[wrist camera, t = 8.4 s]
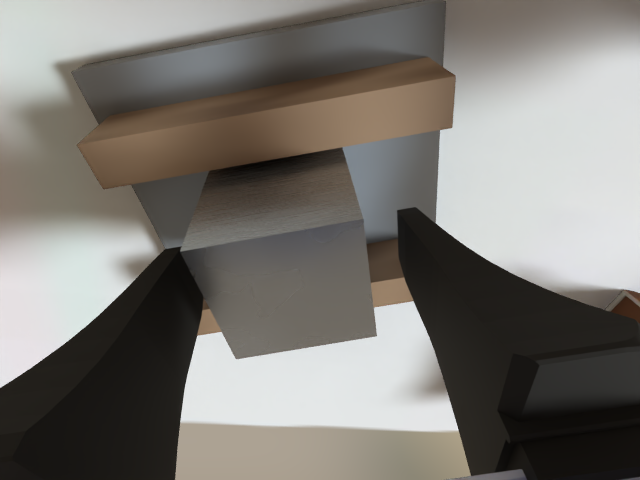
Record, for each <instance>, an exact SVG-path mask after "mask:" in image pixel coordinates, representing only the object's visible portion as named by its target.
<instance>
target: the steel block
mask: <svg viewBox="0 0 640 480" xmlns="http://www.w3.org/2000/svg"><path fill="white" fill-rule="evenodd" d="M180 253H181V255H182V257H183V259H184V261H185V263H186V264H187V266H188V268H189V270H190V272H191V274H192V276H193V278H194V280H195V282H196V284H197V285H198V287H199V289H200V291H201V293H202V295H203V297H204V299H205V301H206V303H207V305H208V306H209V308H210V310H211V312H212V314H213V316H214V318H215V320H216V322H217V324H218V326H219V327H220V329H221V331H222V333H223V335H224V337H225V339H226V341H227V343H228V345H229V347H230V348H231V350H232V352H233V354H234V356H235V358H236V359H241V358H247V357H253V356H259V355H265V354H271V353H277V352H283V351H289V350H295V349H302V348H308V347H314V346H320V345H326V344H332V343H338V342H344V341H350V340H356V339H362V338H369V337H375V336H377V333H376V324H375V316H374V307H373V298H372V289H371V281H370V272H369V263H368V254H367V246H366V237H365V228H364V219H363V216H362V212H361V209H360V206H359V202H358V199H357V195H356V192H355V189H354V185H353V182H352V178H351V175H350V172H349V168H348V165H347V161H346V158H345V155H344V151H343V148H342V147H341V148H335V149H329V150H324V151H318V152H312V153H307V154H301V155H295V156H290V157H284V158H278V159H273V160H267V161H261V162H256V163H250V164H244V165H239V166H233V167H227V168H222V169H216V170H210V171H209V173H208V176H207V178H206V181H205V184H204V187H203V189H202V192H201V195H200V198H199V200H198V203H197V206H196V209H195V211H194V214H193V217H192V220H191V222H190V225H189V228H188V231H187V233H186V236H185V239H184V242H183V244H182V247H181V250H180Z"/></svg>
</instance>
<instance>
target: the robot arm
mask: <svg viewBox="0 0 640 480" xmlns="http://www.w3.org/2000/svg"><path fill="white" fill-rule="evenodd" d="M397 226H398V257H399V261H400V264H401V268H402V272H403V275H404V278H405V282H406V284H407V287H408V289H409V291H410V294H411V296H412V298H413V301H414V303H415V305H416V307H417V310H418V312H419V314H420V317H421V319H422V321H423V323H424V326H425V328H426V330H427V333H428V335H429V337H430V340H431V342H432V345H433V348H434V350H435V353H436V356H437V360H438V363H439V366H440V369H441V372H442V375H443V379H444V382H445V385H446V389H447V392H448V395H449V398H450V402H451V405H452V408H453V412H454V415H455V419H456V422H457V426H458V429H459V433H460V436H461V440H462V443H463V447H464V451H465V455H466V458H467V462H468V466H469V469H470V473H471V476H468V477H461V478H454V479H447V480H640V324H639V323H638V322H637V321H636V320H635V319H633V318H629V317H626V316H623V315H619V314H616V313H613V312H610V311H606V310H603V309H600V308H596V307H593V306H590V305H587V304H584V303H581V302H578V301H576V300H573V299H570V298H567V297H565V296H562V295H559V294H557V293H554V292H552V291H549V290H547V289H544V288H542V287H540V286H538V285H535V284H533V283H531V282H529V281H526V280H524V279H522V278H520V277H518V276H516V275H514V274H512V273H510V272H508V271H506V270H504V269H502V268H501V267H499V266H497V265H495V264H493V263H491V262H490V261H488V260H486V259H485V258H483V257H481V256H480V255H478V254H477V253H475V252H474V251H472V250H471V249H469V248H467V247H466V246H465V245H463V244H462V243H460V242H459V241H458V240H456V239H455V238H454V237H452V236H451V235H450V234H448V233H447V232H446V231H444V230H443V229H442V228H441V227H439V226H438V225H437V224H436V223H435V222H433V221H432V220H431V219H430V218H429V217H427V216H426V215H425V214H424V213H423V212H421V211H420V210H419V209H418V208H416V207H413V208H407V209H401V210H397ZM181 247H182V246H180V247H174V248H169V249H165V250H164V251H163V252H162V253H161V254H160V255H159V256H158V257H157V258H156V259H155V260H154V261H153V262H152V263H151V264H150V265H149V266H148V267H147V268H146V269H145V270H144V271H143V272H142V273H141V274H140V275H139V276H138V277H137V278H136V279H135V280H134V281H133V282H132V283H131V284H130V286H129V287H128V288H127V289H126V290H125V291H124V292H123V293H122V294H121V295H120V296H119V297H117V298H116V299H115V300H114V301H113V302H112V303H111V304H110V305H109V306H108V307H107V308H106V309H105V310H104V311H103V312H102V313H101V314H100V315H99V316H98V317H96V318H95V319H94V320H93V321H92V322H91V323H90V324H88V325H87V326H86V327H85V328H84V329H82V330H81V331H80V332H79V333H78V334H76V335H75V336H74V337H73V338H71V339H70V340H69V341H68V342H66V343H65V344H64V345H62V346H61V347H60V348H58V349H57V350H56V351H54V352H53V353H51V354H50V355H49V356H47V357H46V358H45V359H43V360H42V361H40V362H39V363H38V364H36V365H35V366H33V367H32V368H31V369H29V370H28V371H26V372H25V373H23V374H22V375H20V376H18V377H17V378H15V379H14V380H12V381H11V382H9V383H8V384H6V385H4V386H3V387H1V388H0V480H175V472H176V459H177V446H178V436H179V428H180V418H181V411H182V403H183V396H184V389H185V383H186V378H187V374H188V370H189V366H190V362H191V358H192V354H193V350H194V346H195V342H196V338H197V334H198V330H199V325H200V321H201V317H202V310H203V300H204V297H203V295H202V293H201V291H200V289H199V287H198V285H197V284H196V282H195V280H194V278H193V276H192V274H191V272H190V270H189V268H188V266H187V264H186V263H185V261H184V259H183V257H182V255H181V253H180V250H181Z"/></svg>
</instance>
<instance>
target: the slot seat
mask: <svg viewBox="0 0 640 480" xmlns="http://www.w3.org/2000/svg"><path fill="white" fill-rule="evenodd" d="M445 10H446V1H443V0H425V1H419V2H414V3H409V4H403V5H398V6H393V7H388V8H382V9H377V10H372V11H367V12H361V13H356V14H351V15H345V16H340V17H335V18H330V19H324V20H319V21H314V22H309V23H303V24H298V25H293V26H287V27H282V28H277V29H272V30H266V31H261V32H256V33H251V34H245V35H240V36H235V37H229V38H224V39H219V40H214V41H208V42H203V43H198V44H193V45H187V46H182V47H177V48H171V49H166V50H161V51H156V52H150V53H145V54H140V55H135V56H129V57H124V58H119V59H114V60H108V61H103V62H98V63H92V64H87V65H84V66H82V67H80V68H78V69H76V70H74V71H72V72H71V73H72V75H73V77H74V79H75V81H76V83H77V84H78V86H79V88H80V90H81V92H82V94H83V96H84V97H85V99H86V101H87V103H88V105H89V107H90V109H91V111H92V112H93V114H94V116H95V118H96V120H97V122H98V124H99V125H98V126H97V127H96V128H95V129H94V130H93V131H92V132H91V133H89V134H88V135H87V136H86V137H85V138H84V139H83V140H82V141H80V142H79V143H78V144H77V146H78V148H79V149H80V151H81V153H82V154H83V156H84V158H85V159H86V161H87V163H88V165H89V166H90V168H91V170H92V171H93V173H94V175H95V176H96V178H97V180H98V181H99V183H100V185H101V186H102V188H103V189H108V188H114V187H119V186H125V185H132V187H133V189H134V191H135V193H136V195H137V196H138V198H139V200H140V202H141V204H142V206H143V208H144V210H145V211H146V213H147V215H148V217H149V219H150V221H151V223H152V225H153V226H154V228H155V230H156V232H157V234H158V236H159V238H160V239H161V241H162V243H163V245H164V247H165V249H169V248H174V247H180V246H182V244H183V242H184V239H185V236H186V233H187V231H188V228H189V225H190V222H191V220H192V217H193V214H194V211H195V209H196V206H197V203H198V200H199V198H200V195H201V192H202V189H203V187H204V184H205V181H206V178H207V176H208V173H209V171H210V170H216V169H222V168H227V167H233V166H239V165H244V164H250V163H256V162H261V161H267V160H273V159H278V158H284V157H290V156H295V155H301V154H307V153H312V152H318V151H324V150H329V149H335V148H341V147H342V148H343V151H344V155H345V158H346V161H347V165H348V168H349V172H350V175H351V178H352V182H353V185H354V189H355V192H356V195H357V199H358V202H359V206H360V209H361V212H362V216H363V219H364V228H365V237H366V246H367V254H368V263H369V272H370V281H371V289H372V298H373V307H379V306H386V305H392V304H398V303H404V302H411V301H413V298H412V296H411V294H410V291H409V289H408V287H407V284H406V282H405V278H404V275H403V272H402V268H401V264H400V261H399V257H398V226H397V210H401V209H407V208H413V207H416V208H418V209H419V210H420V211H421V212H423V213H424V214H425V215H426V216H427V217H429V218H430V219H431V220H432V221H433V222H436V201H437V180H438V159H439V137H440V130H443V129H448V128H452V124H453V109H454V94H455V80H456V76H455V75H454V74H452V73H451V72H449V71H448V70H446V69H445V68H444V67H443V52H444V31H445ZM217 332H222V331H221V329H220V327H219V326H218V324H217V322H216V320H215V318H214V316H213V314H212V312H211V310H210V308H209V306H208V305H207V303H206V301H205V299H204V300H203V310H202V317H201V321H200V325H199V330H198V334H197V336H198V335H204V334H210V333H217Z"/></svg>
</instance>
